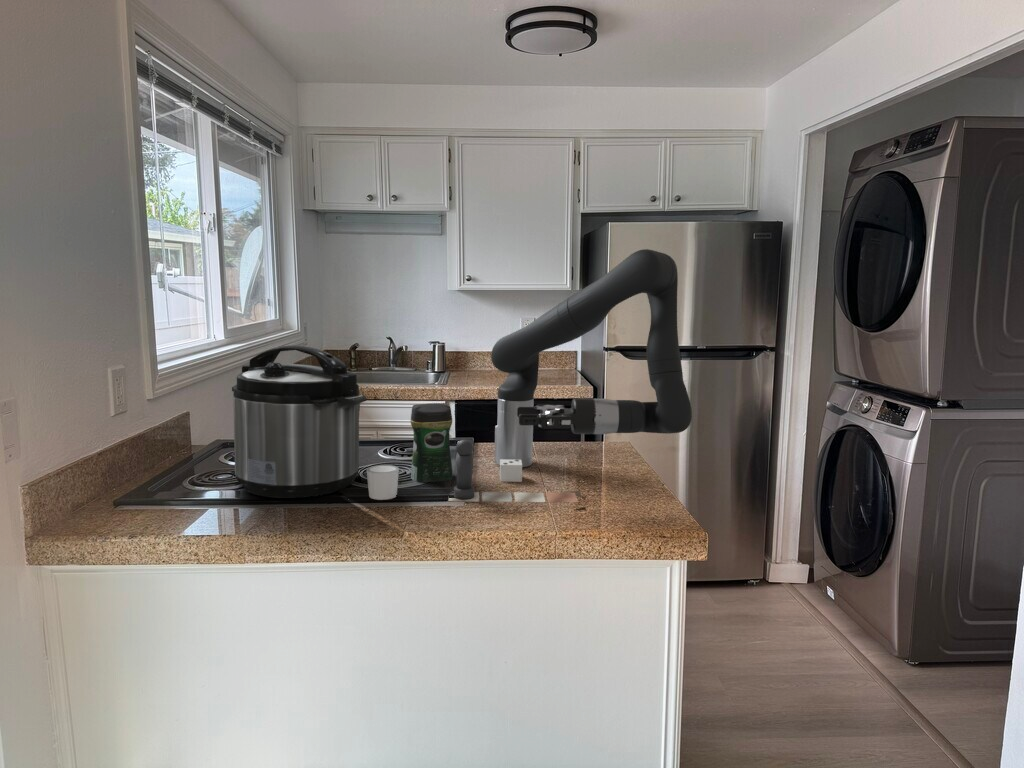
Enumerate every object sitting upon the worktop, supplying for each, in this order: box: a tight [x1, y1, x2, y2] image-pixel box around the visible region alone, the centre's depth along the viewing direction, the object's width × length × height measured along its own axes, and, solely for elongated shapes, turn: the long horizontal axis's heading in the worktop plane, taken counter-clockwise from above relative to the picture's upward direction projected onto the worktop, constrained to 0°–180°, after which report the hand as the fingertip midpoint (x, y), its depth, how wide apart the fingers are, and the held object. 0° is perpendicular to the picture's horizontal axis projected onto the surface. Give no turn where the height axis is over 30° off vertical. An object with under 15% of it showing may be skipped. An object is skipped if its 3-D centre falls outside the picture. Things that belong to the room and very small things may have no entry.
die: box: [499, 459, 523, 483], centre depth 162 cm, size 5×5×5 cm
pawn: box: [453, 439, 476, 500], centre depth 147 cm, size 4×4×12 cm
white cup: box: [366, 464, 400, 501], centre depth 147 cm, size 7×7×7 cm
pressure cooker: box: [231, 344, 367, 499], centre depth 156 cm, size 30×28×32 cm
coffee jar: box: [409, 402, 454, 483], centre depth 161 cm, size 10×8×19 cm
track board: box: [447, 490, 587, 511], centre depth 148 cm, size 30×10×1 cm, turn 92°
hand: (518, 415), depth 146 cm, fingers open, 8 cm apart
